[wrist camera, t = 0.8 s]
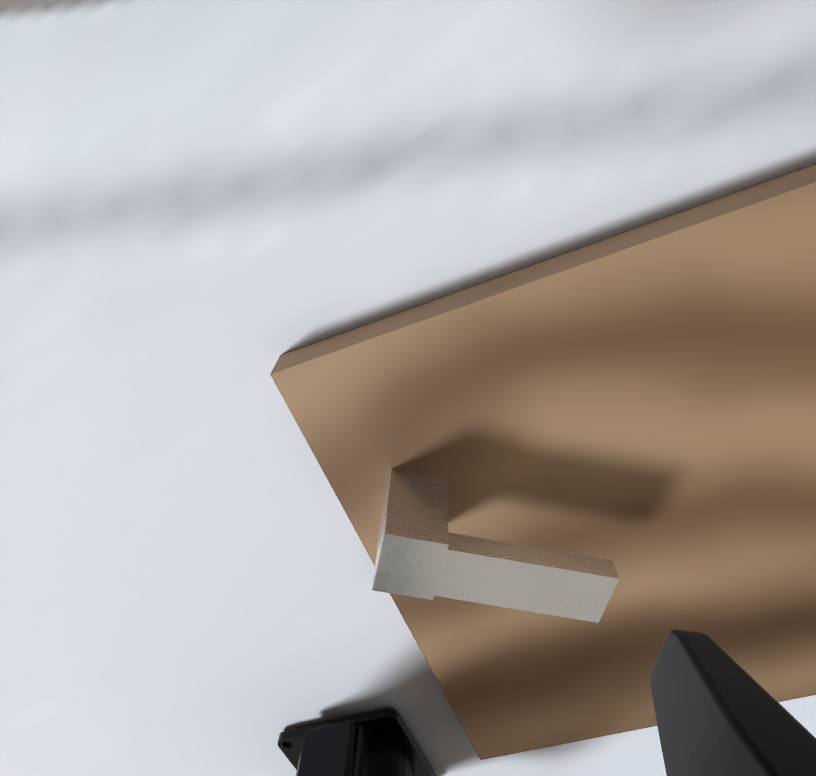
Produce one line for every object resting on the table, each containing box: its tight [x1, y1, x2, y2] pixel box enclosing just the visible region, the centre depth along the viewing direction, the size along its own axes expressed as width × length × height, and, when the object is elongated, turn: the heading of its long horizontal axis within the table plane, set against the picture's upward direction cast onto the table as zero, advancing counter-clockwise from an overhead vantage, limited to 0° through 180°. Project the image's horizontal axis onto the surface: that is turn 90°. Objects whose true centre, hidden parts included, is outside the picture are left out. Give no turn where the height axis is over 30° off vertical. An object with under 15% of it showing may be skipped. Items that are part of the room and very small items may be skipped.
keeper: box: [372, 469, 619, 623], centre depth 21 cm, size 8×2×3 cm, turn 79°
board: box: [270, 164, 816, 760], centre depth 23 cm, size 22×23×2 cm
